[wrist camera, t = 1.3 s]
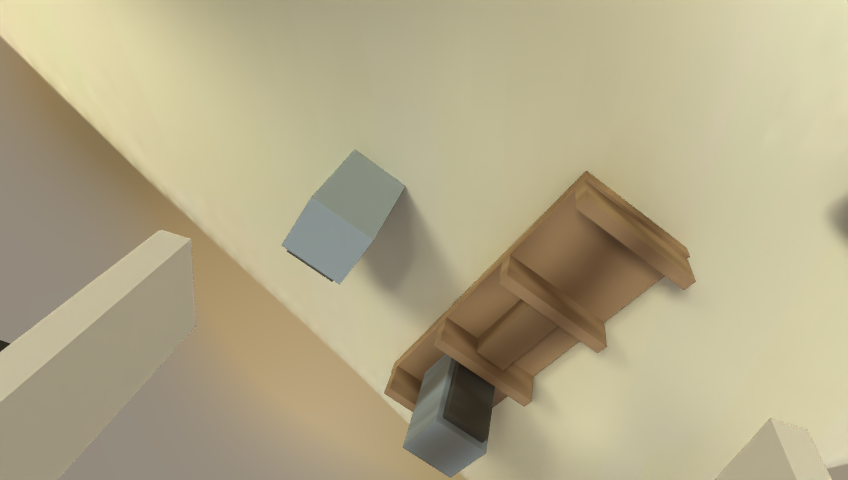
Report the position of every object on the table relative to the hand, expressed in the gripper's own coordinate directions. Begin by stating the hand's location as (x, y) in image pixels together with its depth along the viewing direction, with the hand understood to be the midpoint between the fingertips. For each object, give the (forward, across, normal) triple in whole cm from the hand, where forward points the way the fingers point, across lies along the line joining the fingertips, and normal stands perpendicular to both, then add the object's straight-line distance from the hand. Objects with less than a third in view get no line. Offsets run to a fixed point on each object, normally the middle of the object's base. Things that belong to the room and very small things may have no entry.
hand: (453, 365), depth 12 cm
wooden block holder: (+21, +5, -14) cm, 26 cm away
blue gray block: (+21, -8, -8) cm, 24 cm away
